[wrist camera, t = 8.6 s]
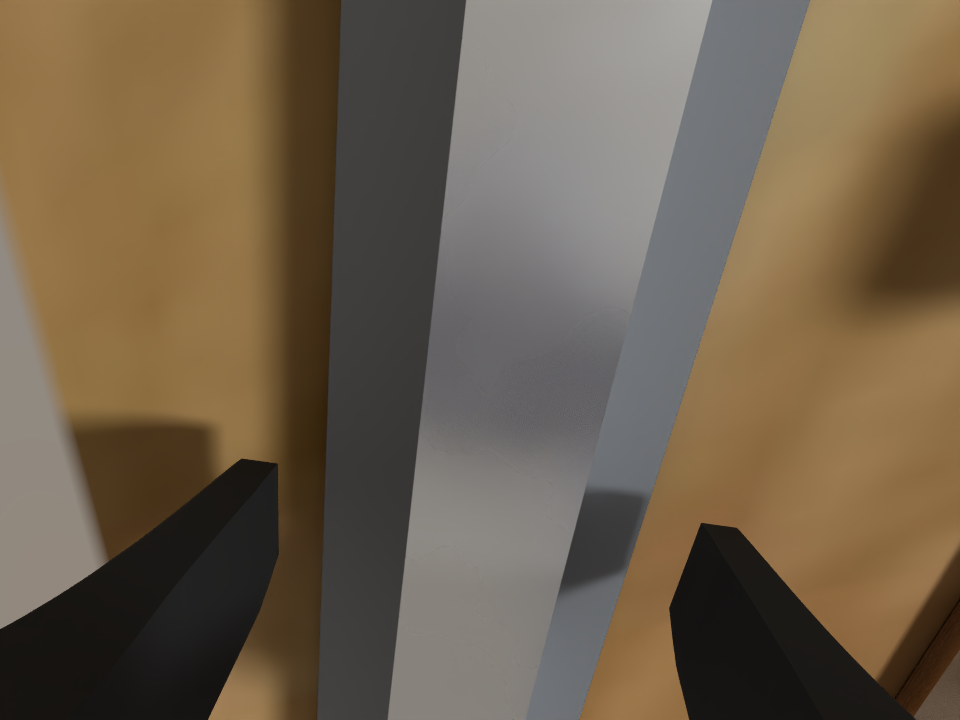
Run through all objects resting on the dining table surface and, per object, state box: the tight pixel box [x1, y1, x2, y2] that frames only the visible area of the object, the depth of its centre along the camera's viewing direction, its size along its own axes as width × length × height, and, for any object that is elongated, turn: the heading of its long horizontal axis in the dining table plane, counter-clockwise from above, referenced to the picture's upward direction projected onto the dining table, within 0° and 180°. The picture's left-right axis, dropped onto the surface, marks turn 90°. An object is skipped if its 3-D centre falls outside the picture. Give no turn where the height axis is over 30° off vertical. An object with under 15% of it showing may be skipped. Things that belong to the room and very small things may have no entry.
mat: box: [317, 0, 810, 720], centre depth 13 cm, size 21×6×1 cm, turn 172°
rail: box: [388, 0, 712, 720], centre depth 12 cm, size 20×2×2 cm, turn 172°
